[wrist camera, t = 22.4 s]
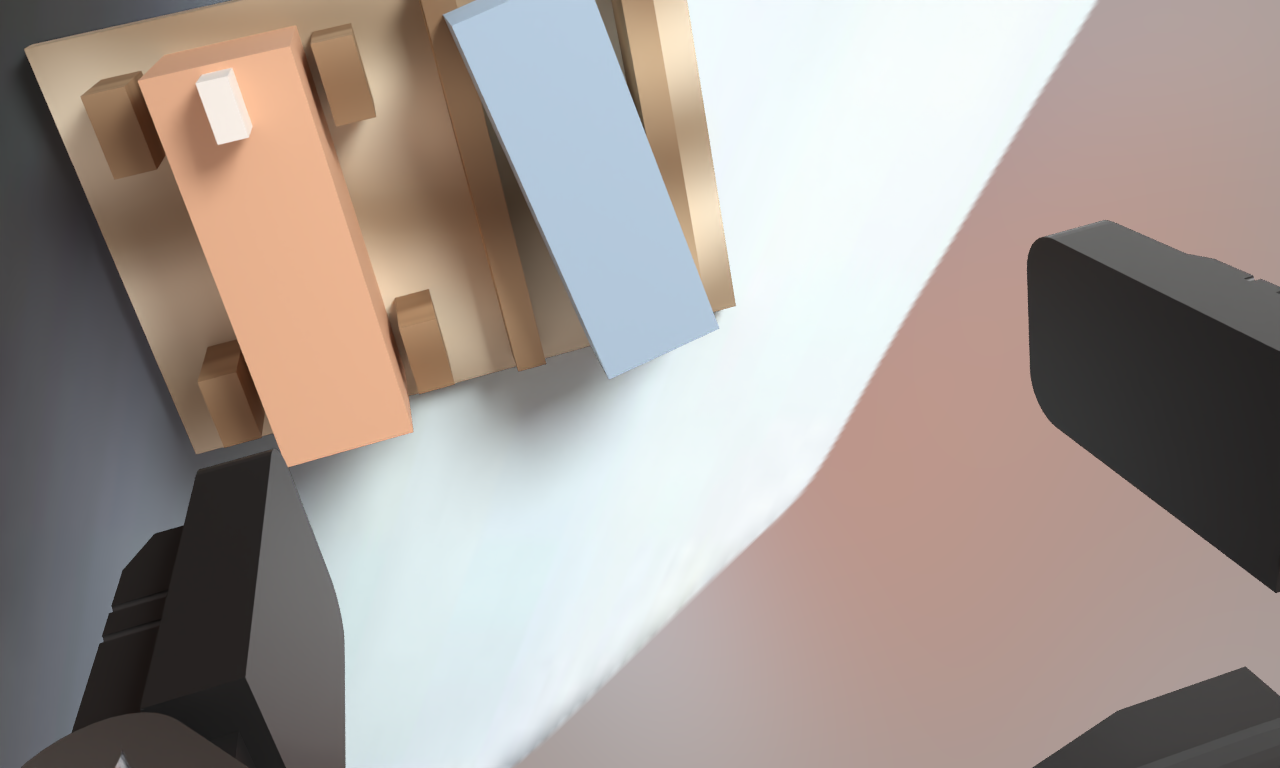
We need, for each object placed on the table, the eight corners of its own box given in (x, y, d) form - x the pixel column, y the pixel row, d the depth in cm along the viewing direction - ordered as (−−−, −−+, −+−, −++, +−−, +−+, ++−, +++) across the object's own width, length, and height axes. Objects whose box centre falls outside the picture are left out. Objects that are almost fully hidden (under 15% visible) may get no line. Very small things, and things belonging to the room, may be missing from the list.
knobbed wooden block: (164, 55, 34) (128, 90, 28) (296, 25, 34) (287, 53, 28) (292, 401, 39) (284, 491, 33) (405, 370, 39) (416, 453, 34)
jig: (32, 44, 33) (-5, 63, 30) (663, -95, 36) (699, -93, 33) (199, 441, 40) (185, 496, 36) (727, 297, 42) (762, 334, 39)
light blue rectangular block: (442, 15, 33) (451, 25, 31) (563, -39, 34) (582, -32, 31) (590, 346, 39) (609, 379, 36) (693, 298, 39) (719, 328, 37)
